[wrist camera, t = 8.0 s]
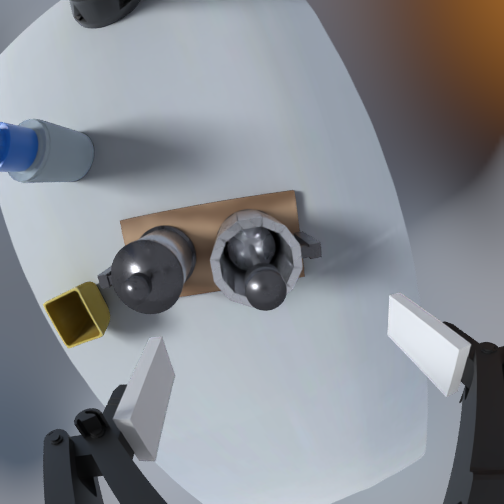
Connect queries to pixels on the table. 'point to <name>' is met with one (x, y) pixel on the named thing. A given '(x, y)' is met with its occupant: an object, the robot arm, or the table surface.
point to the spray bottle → (44, 152)
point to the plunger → (258, 267)
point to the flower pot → (79, 314)
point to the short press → (152, 269)
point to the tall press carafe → (284, 259)
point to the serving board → (212, 229)
